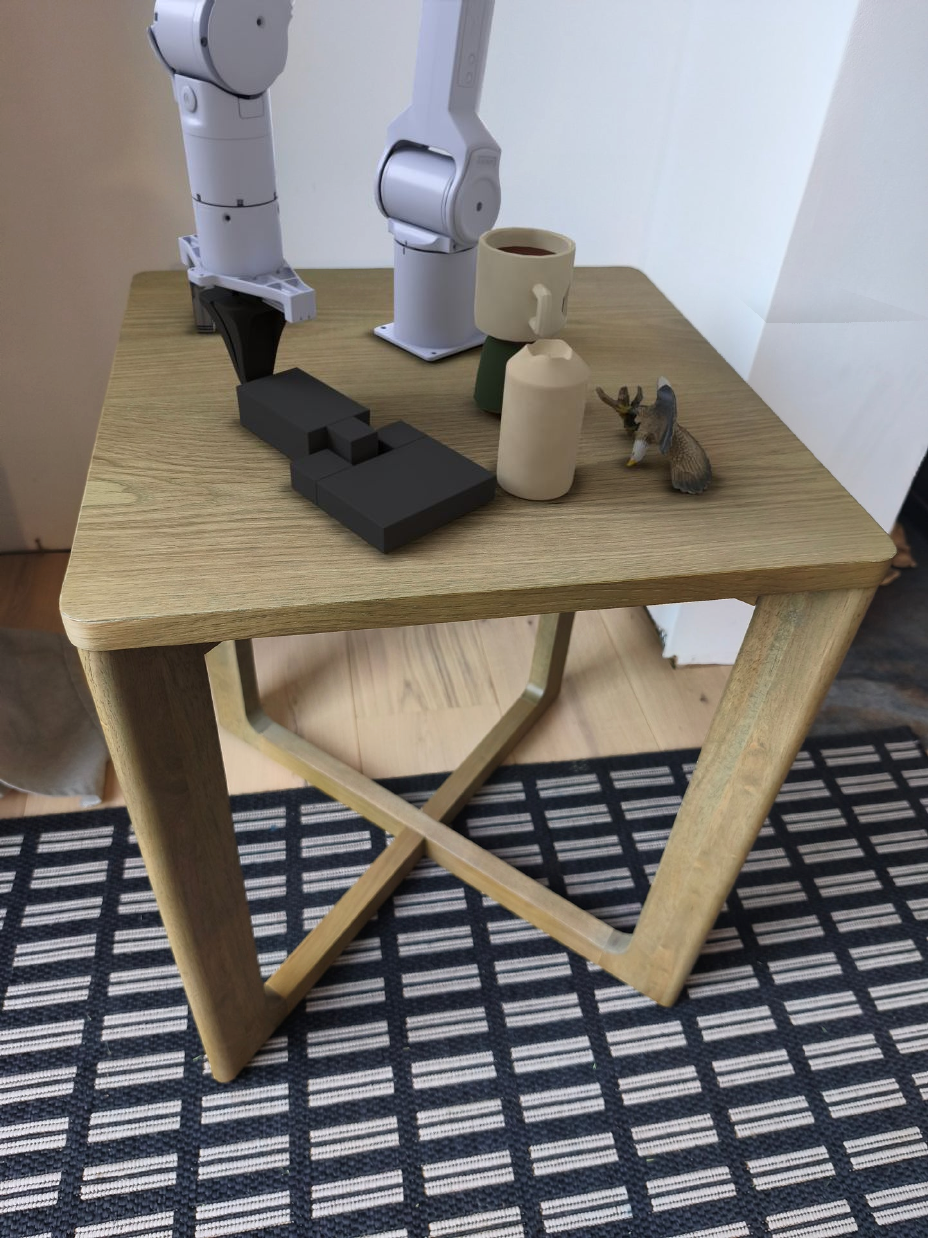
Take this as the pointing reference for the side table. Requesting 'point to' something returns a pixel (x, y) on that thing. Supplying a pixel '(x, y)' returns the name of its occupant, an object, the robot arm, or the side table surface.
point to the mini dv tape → (201, 309)
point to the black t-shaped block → (306, 417)
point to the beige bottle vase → (541, 420)
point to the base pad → (395, 486)
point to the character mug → (517, 299)
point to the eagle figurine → (663, 435)
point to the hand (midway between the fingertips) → (256, 383)
